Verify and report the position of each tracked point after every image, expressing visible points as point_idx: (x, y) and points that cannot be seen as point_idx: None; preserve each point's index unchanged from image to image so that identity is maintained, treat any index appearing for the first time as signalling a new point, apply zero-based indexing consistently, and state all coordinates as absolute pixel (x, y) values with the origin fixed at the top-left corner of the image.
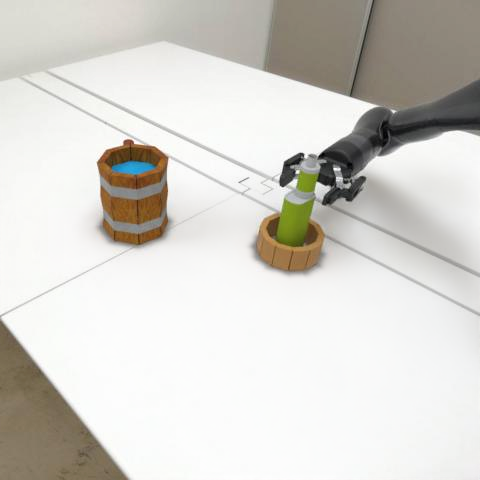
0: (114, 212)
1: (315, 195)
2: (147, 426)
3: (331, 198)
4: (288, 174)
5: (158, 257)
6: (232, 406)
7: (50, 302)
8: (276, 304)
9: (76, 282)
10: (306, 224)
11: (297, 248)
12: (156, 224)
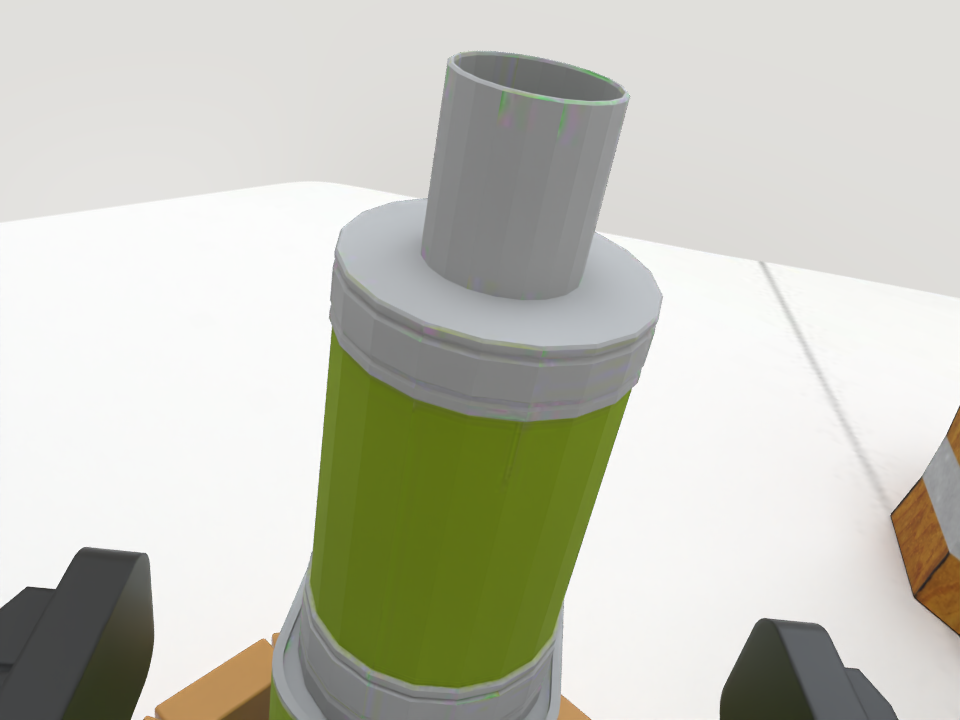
0: None
1: (278, 679)
2: (343, 213)
3: (29, 587)
4: (818, 711)
5: (778, 501)
6: (209, 262)
7: (747, 300)
8: (228, 524)
9: (787, 347)
10: None
11: (248, 674)
12: (953, 522)
